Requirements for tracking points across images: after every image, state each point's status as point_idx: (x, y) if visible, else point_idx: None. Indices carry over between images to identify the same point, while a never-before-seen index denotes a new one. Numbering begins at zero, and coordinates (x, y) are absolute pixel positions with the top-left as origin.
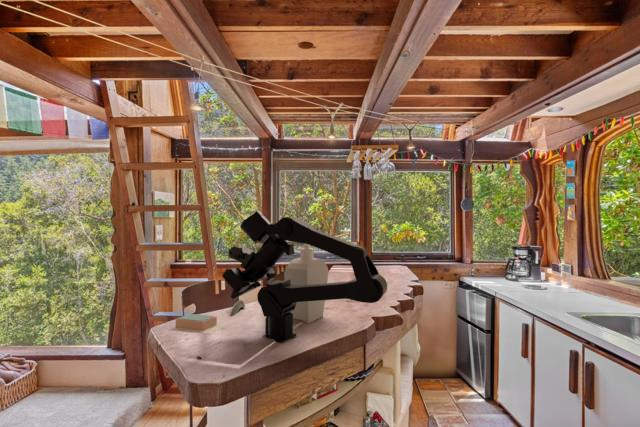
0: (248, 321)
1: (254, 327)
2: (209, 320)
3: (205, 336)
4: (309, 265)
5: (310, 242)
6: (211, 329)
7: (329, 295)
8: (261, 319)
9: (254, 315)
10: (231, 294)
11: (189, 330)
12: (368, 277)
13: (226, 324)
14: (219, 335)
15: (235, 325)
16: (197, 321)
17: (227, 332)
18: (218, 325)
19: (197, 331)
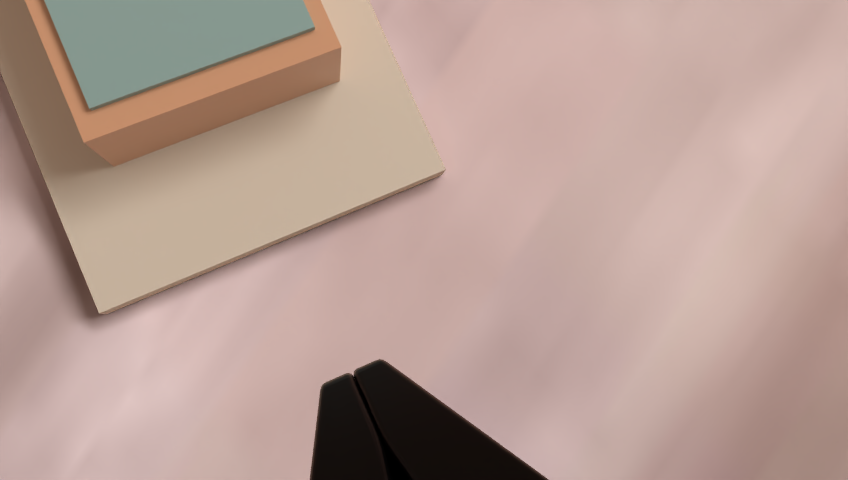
0: (672, 174)
1: (595, 398)
2: (202, 102)
3: (64, 292)
4: None
5: None
6: (193, 198)
7: None
8: (805, 214)
9: (834, 43)
10: (316, 427)
11: (13, 55)
12: None
13: (411, 158)
14: (183, 369)
15: (499, 194)
16: (52, 60)
17: (301, 341)
18: (331, 127)
19: (48, 150)
